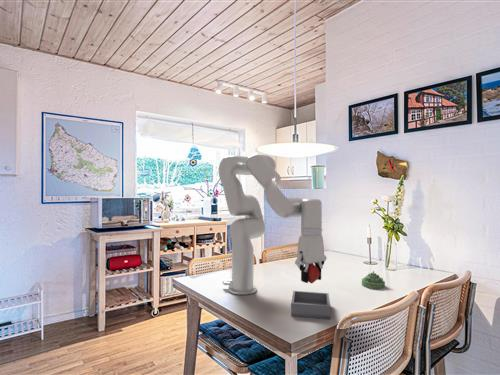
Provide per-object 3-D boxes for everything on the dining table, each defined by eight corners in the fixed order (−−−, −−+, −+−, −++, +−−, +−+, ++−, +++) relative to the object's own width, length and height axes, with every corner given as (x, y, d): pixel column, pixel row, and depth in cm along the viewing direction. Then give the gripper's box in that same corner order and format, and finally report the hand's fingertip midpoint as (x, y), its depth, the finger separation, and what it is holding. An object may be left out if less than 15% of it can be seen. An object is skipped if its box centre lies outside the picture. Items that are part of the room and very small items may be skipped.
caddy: (291, 315, 111) (291, 303, 111) (293, 302, 124) (293, 290, 124) (330, 319, 108) (330, 306, 108) (328, 304, 122) (328, 293, 122)
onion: (305, 285, 113) (305, 263, 113) (301, 281, 119) (301, 260, 119) (321, 285, 113) (321, 263, 113) (316, 280, 119) (316, 259, 119)
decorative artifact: (357, 283, 149) (370, 290, 140) (357, 269, 149) (370, 274, 140) (375, 282, 152) (389, 288, 142) (375, 267, 152) (389, 273, 142)
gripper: (320, 229, 124) (320, 274, 124) (287, 232, 114) (286, 281, 114) (334, 231, 118) (334, 279, 118) (301, 235, 108) (301, 287, 108)
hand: (311, 280), depth 116 cm, fingers closed on onion, 5 cm apart
